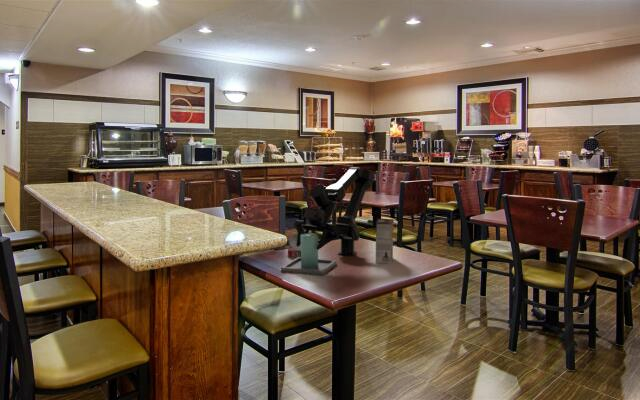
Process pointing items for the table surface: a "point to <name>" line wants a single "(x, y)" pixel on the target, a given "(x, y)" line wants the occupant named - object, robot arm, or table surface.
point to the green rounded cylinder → (309, 250)
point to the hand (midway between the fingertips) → (307, 247)
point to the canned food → (294, 247)
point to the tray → (320, 270)
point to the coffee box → (384, 241)
